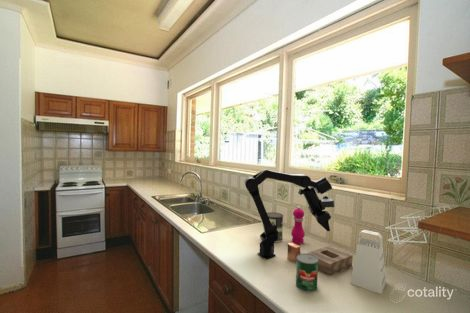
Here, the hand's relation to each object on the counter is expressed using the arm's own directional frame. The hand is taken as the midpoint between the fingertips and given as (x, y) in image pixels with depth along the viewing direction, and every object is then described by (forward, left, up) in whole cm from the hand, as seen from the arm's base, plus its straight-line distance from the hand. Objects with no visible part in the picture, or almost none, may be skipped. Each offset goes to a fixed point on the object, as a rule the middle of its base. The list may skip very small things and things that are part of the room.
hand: (326, 227), depth 118 cm
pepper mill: (+2, +19, -14) cm, 24 cm away
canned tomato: (-28, -13, -14) cm, 34 cm away
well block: (-6, -7, -14) cm, 17 cm away
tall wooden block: (-16, +5, -14) cm, 22 cm away
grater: (-5, -24, -14) cm, 28 cm away
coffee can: (-7, +29, -14) cm, 33 cm away
